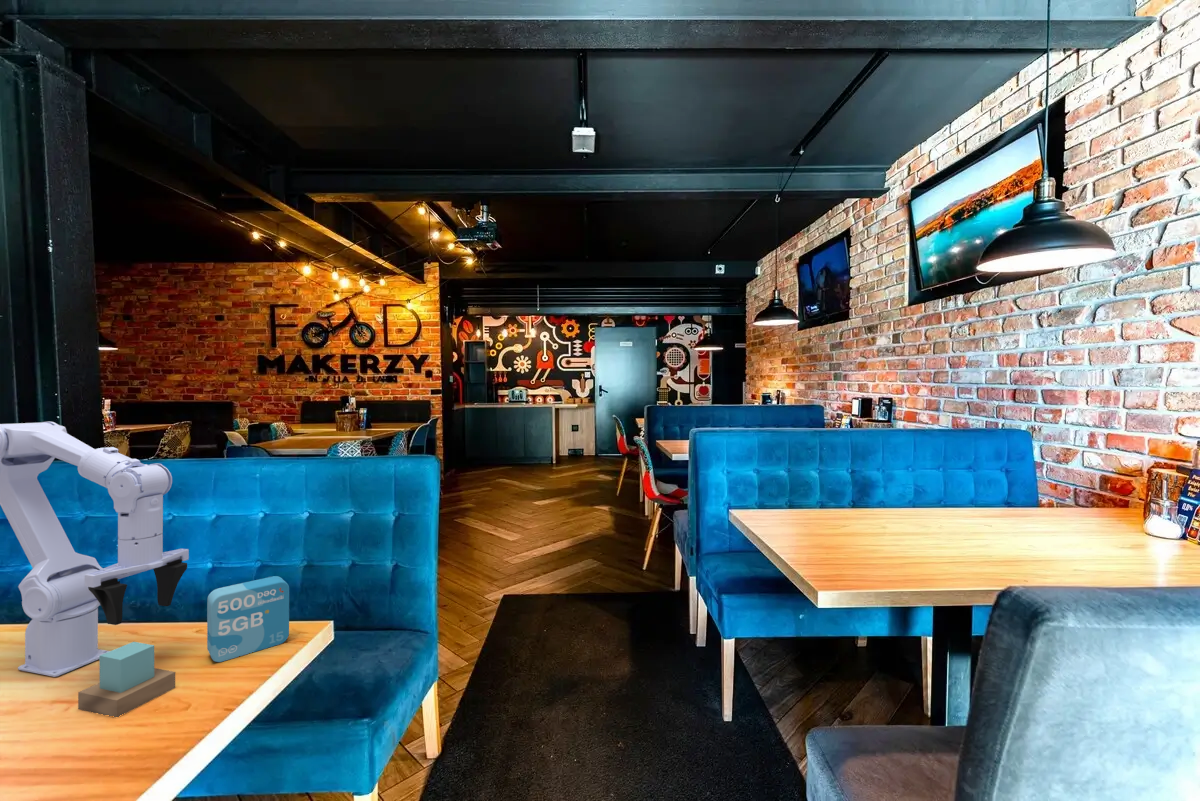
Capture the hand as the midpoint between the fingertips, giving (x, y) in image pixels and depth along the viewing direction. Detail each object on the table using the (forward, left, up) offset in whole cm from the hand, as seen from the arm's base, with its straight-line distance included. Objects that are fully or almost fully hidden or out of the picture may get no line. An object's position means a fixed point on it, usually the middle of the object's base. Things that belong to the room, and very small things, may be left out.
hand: (140, 614), depth 87 cm
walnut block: (+8, -7, -10) cm, 14 cm away
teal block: (+8, -7, -7) cm, 13 cm away
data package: (+12, +10, -10) cm, 18 cm away
